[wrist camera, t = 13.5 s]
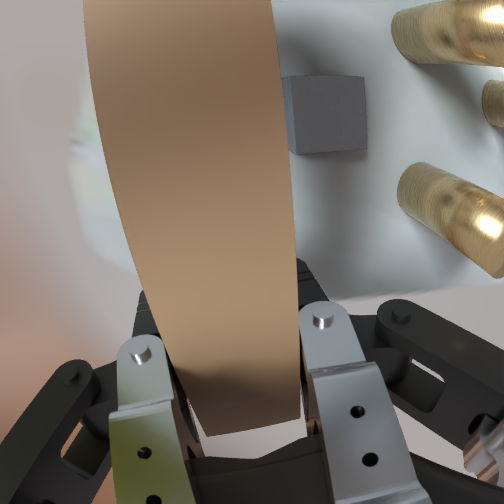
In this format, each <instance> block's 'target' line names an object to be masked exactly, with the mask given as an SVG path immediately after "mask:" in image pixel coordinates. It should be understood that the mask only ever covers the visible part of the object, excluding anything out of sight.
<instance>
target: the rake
mask: <svg viewBox="0 0 504 504" xmlns="http://www.w3.org/2000/svg"><path fill="white" fill-rule="evenodd" d="M83 10H84V24H85V36H86V46H87V55H88V64H89V72H90V79H91V86H92V92H93V98H94V104H95V110H96V116H97V121H98V126H99V132H100V137H101V141H102V146H103V151H104V155H105V160H106V164H107V168H108V173H109V177H110V181H111V185H112V189H113V193H114V197H115V200H116V204H117V208H118V211H119V215H120V219H121V222H122V225H123V229H124V232H125V236H126V239H127V242H128V245H129V249H130V252H131V255H132V258H133V261H134V264H135V267H136V270H137V273H138V276H139V279H140V282H141V285H142V287H143V291H144V293H145V296H146V299H147V302H148V304H149V307H150V310H151V313H152V315H153V318H154V320H155V323H156V326H157V328H158V331H159V333H160V336H161V338H162V341H163V343H164V346H165V348H166V350H167V353H168V355H169V358H170V360H171V362H172V365H173V367H174V369H175V371H176V374H177V376H178V378H179V380H180V383H181V385H182V387H183V389H184V391H185V394H186V396H187V398H188V400H189V402H190V404H191V406H192V408H193V410H194V412H195V414H196V416H197V418H198V420H199V422H200V424H201V426H202V428H203V430H204V432H205V434H206V436H207V437H209V436H215V435H222V434H228V433H234V432H239V431H245V430H250V429H255V428H260V427H265V426H269V425H274V424H279V423H283V422H287V421H291V420H295V419H299V418H300V343H299V311H298V286H297V266H296V247H295V231H294V215H293V201H292V188H291V175H290V163H289V151H288V141H287V130H286V120H285V110H284V101H283V91H282V83H281V74H280V66H279V57H278V50H277V42H276V34H275V27H274V20H273V13H272V6H271V0H83Z"/></svg>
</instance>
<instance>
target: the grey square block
mask: <svg viewBox="0 0 504 504" xmlns="http://www.w3.org/2000/svg"><path fill="white" fill-rule="evenodd" d="M282 88H283V98H284V110H285V120H286V130H287V141H288V150H290V151H291V152H293V153H295V154H296V155H298V154H308V153H320V152H332V151H346V150H362V149H367V147H366V107H365V88H364V77H359V76H288V77H284V78H282Z"/></svg>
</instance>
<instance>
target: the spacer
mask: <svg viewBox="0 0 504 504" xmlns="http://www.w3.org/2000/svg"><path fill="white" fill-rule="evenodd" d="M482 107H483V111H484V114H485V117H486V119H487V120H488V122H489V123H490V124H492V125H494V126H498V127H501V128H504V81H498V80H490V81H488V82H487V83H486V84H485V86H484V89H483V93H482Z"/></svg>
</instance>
